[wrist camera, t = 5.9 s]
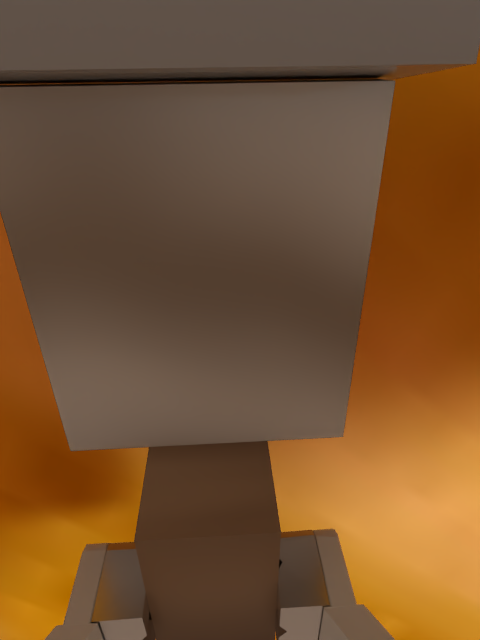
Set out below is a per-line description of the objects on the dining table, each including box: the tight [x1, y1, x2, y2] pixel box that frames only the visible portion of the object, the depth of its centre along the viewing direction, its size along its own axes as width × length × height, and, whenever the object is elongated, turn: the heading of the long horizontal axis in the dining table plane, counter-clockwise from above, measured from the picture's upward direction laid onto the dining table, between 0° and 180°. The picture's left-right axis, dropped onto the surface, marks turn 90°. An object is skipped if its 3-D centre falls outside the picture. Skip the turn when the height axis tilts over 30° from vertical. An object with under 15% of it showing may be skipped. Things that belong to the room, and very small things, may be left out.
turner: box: [0, 79, 395, 640], centre depth 10 cm, size 17×6×3 cm, turn 1°
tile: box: [0, 0, 480, 85], centre depth 8 cm, size 2×7×8 cm, turn 91°
